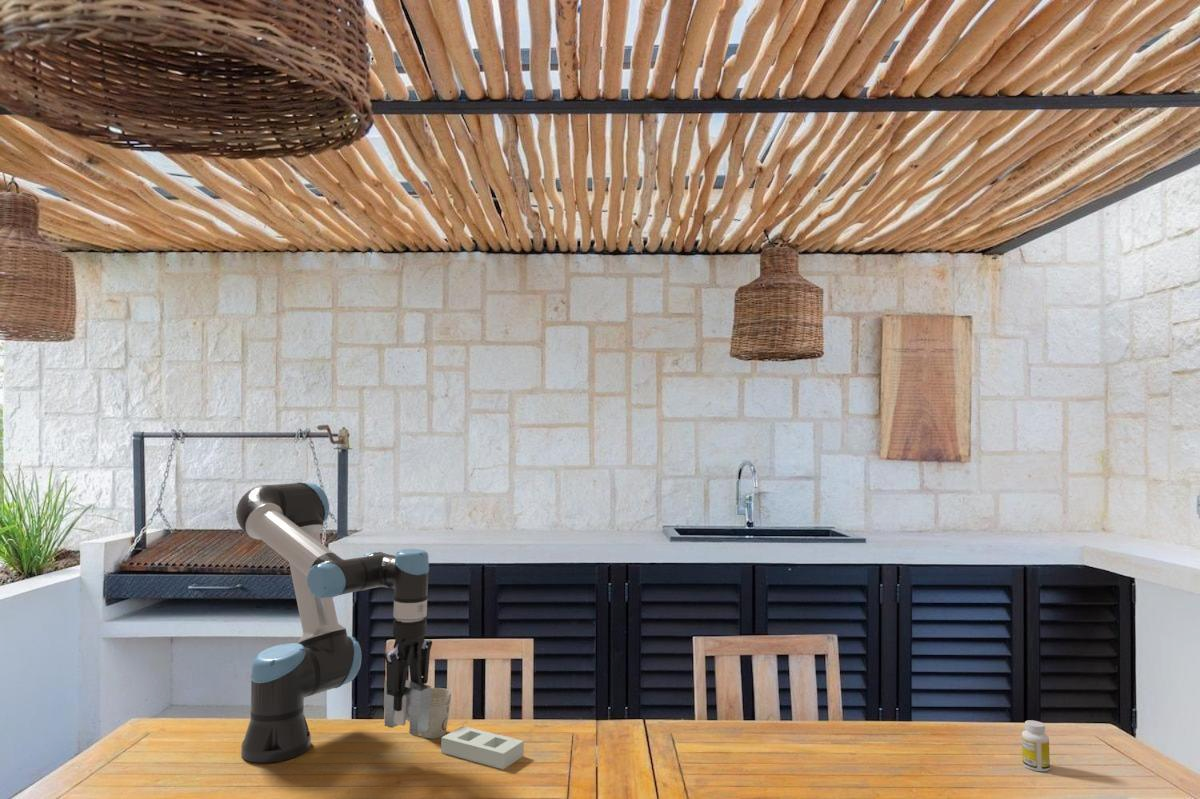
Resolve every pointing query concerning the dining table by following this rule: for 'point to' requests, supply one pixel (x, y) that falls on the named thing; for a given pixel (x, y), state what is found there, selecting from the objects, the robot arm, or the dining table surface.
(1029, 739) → the supplement bottle
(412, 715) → the clip
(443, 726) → the mug
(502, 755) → the block
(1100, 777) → the dining table surface
